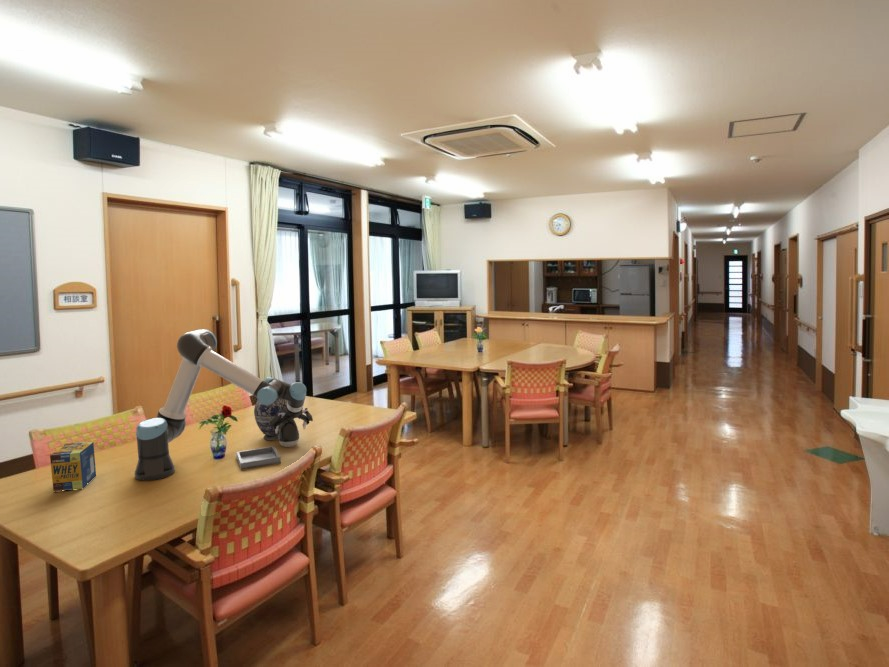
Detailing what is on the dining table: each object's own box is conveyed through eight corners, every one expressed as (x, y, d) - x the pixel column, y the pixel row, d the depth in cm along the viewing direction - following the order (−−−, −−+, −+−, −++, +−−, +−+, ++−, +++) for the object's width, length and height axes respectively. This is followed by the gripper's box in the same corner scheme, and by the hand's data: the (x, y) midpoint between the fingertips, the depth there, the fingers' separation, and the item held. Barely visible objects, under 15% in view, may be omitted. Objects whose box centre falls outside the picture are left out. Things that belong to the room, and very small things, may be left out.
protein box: (52, 493, 209) (49, 455, 207) (69, 478, 223) (65, 443, 222) (83, 490, 211) (79, 452, 210) (97, 475, 226) (94, 441, 224)
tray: (280, 463, 239) (280, 456, 239) (241, 469, 232) (240, 463, 231) (274, 452, 254) (273, 446, 254) (236, 458, 247) (236, 451, 246)
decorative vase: (245, 440, 273) (243, 387, 270) (269, 430, 290) (268, 380, 287) (278, 444, 265) (276, 390, 262) (301, 434, 282) (300, 383, 279)
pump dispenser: (304, 443, 267) (303, 414, 265) (290, 450, 257) (288, 419, 255) (288, 441, 271) (287, 412, 269) (274, 447, 261) (272, 417, 260)
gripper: (268, 416, 240) (265, 439, 255) (322, 409, 251) (316, 432, 266) (266, 402, 244) (263, 426, 259) (319, 396, 256) (313, 419, 270)
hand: (290, 429), depth 263 cm, fingers open, 13 cm apart
